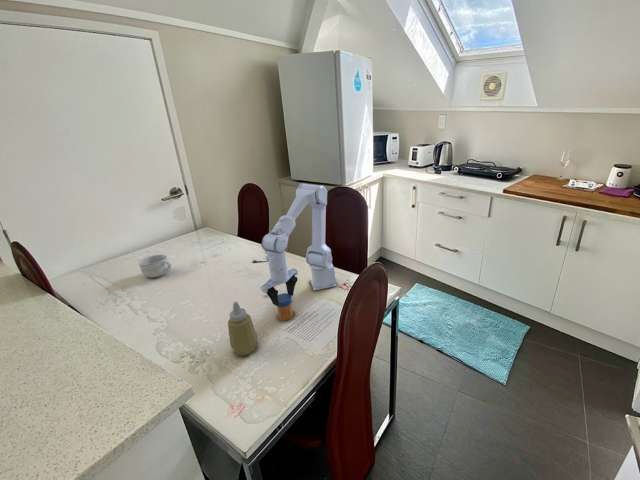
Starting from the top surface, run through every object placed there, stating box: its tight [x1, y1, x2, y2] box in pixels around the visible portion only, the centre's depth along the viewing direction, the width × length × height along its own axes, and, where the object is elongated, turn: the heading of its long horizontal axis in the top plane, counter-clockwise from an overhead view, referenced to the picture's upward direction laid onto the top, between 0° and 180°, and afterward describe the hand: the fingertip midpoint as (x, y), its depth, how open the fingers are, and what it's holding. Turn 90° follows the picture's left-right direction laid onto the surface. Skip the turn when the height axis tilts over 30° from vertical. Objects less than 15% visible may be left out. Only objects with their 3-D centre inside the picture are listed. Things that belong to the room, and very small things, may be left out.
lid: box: [278, 292, 293, 307], centre depth 112 cm, size 6×6×2 cm
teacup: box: [137, 254, 172, 279], centre depth 142 cm, size 14×11×8 cm
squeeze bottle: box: [227, 301, 258, 356], centre depth 96 cm, size 8×8×18 cm
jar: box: [276, 303, 294, 321], centre depth 113 cm, size 5×5×8 cm
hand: (283, 299), depth 112 cm, fingers open, 6 cm apart
